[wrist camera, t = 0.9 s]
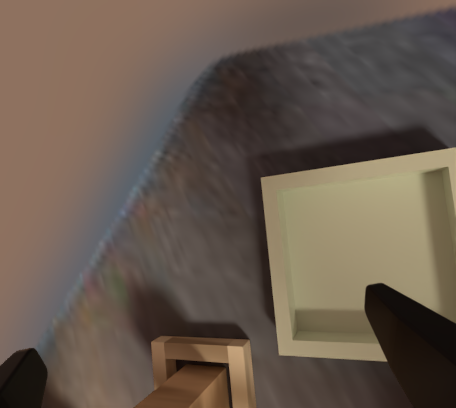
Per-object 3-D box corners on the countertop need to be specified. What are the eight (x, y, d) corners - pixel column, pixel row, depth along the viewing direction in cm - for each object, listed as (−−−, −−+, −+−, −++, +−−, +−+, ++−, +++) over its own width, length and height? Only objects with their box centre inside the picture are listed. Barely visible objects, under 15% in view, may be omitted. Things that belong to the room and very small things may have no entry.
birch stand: (260, 449, 25) (254, 463, 23) (169, 433, 28) (158, 445, 26) (249, 339, 25) (242, 346, 24) (161, 335, 28) (151, 341, 27)
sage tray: (485, 350, 20) (501, 368, 17) (287, 341, 24) (279, 354, 22) (455, 153, 21) (466, 145, 18) (270, 181, 25) (260, 177, 23)
